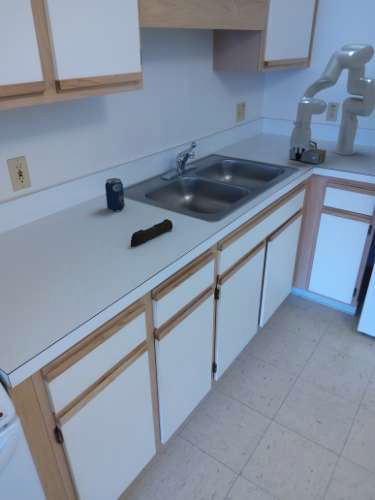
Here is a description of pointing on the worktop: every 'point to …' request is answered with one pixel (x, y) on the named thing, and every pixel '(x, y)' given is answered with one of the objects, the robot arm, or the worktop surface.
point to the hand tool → (150, 232)
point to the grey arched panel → (312, 144)
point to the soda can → (114, 194)
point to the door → (305, 156)
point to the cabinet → (319, 151)
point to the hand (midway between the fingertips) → (297, 159)
